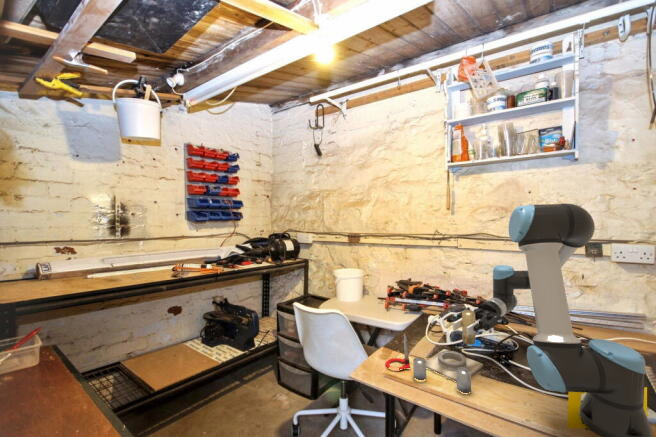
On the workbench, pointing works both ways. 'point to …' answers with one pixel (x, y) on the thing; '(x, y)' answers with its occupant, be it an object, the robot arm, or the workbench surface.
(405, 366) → the tow hook
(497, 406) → the workbench surface
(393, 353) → the workbench surface
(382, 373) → the workbench surface
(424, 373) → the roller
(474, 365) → the bearing housing
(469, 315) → the brass roller
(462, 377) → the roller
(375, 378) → the workbench surface
